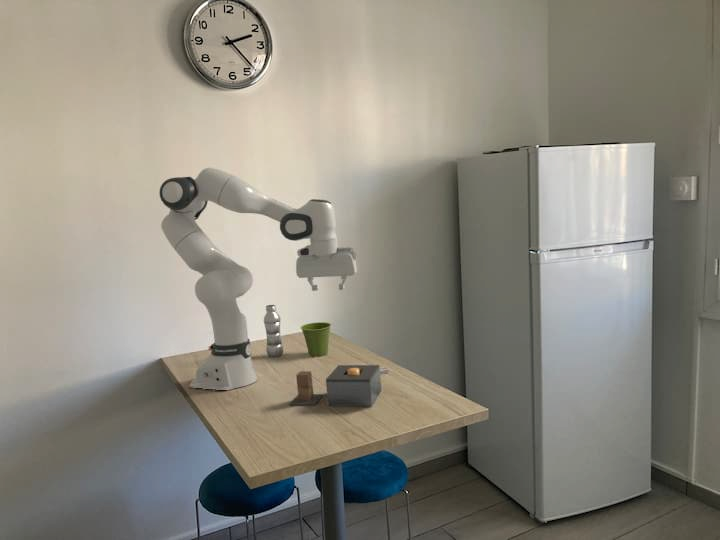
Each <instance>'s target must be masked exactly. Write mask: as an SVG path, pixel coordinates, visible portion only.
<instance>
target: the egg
mask: <svg viewBox="0 0 720 540" xmlns="http://www.w3.org/2000/svg"><path fill="white" fill-rule="evenodd" d="M347 375H360V372H359V368H350V369H348V370H347Z"/></svg>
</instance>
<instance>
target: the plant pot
mask: <svg viewBox="0 0 720 540" xmlns="http://www.w3.org/2000/svg"><path fill="white" fill-rule="evenodd" d="M331 327H332V324H331V323H330V322H321V321H318V322H310V323H306V324H303V325H301V326H300V329H301V330H302V334H303V336H304V340H305V343H306V348H307V352H308V354H309V356H311V357H313V356H316V357H318V356H319V357H323V356H322V355H324V356H326V355H327V354H328V352H329V341H330V331H331ZM325 354H326V355H325Z"/></svg>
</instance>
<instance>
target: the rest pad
mask: <svg viewBox="0 0 720 540" xmlns="http://www.w3.org/2000/svg"><path fill="white" fill-rule="evenodd" d="M313 395H314V397H313V398H312V399H311V401H299V398H298V394H297V395H296V396H295V397H294V398H293V399H292V400H291V401H290V402H289V403H288V405H289V406H300V407H301V406H302V407H303V406H304V407H305V406H310V407H312V406H316V405H317V404H318V403H319V402H320V401H321V399H323V397H324V394H323V393H322V394H321V393H316V394H315V393H313Z"/></svg>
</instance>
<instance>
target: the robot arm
mask: <svg viewBox="0 0 720 540" xmlns="http://www.w3.org/2000/svg"><path fill="white" fill-rule="evenodd" d="M158 195H159V198H160V200H161V202H162V203H163V205H164V206H166V207H167V208H168V209H169V212H168V214H167V215H165V216H164V218H163V219H162V221H161V225H160V228H161V230H162V232H163V234H164V235H165V239H166V240H167V242H169V244H170V245H171V247H172V249H173V250H174V251H175V252H176V253H177V254H178V256H179V257H180V258H181V259H182V260H183V262H184V263H185V264H186V265H187V267H188V268H189V269H190V270H193V271H195V272H197V273H199V274H201V275H202V276H201V277H200V278H199V279H198V280H197V281H196V283H195V285H194V293H195V296H196V299H197V300H198V301H199V302H200V303H201V304H203V306H205V308H206V311H207V312H208V315H209V317H210V321H211V324H212V332H213V338H214V342H213V343H212V344H210V346H208V347H207V349H208V350H207V351H210V353H211V354H209V356H207V357H206V358H205V359H204V360H203V361H202V362H201V363H200V364H199V365H198V367H197V368H196V372H195V379H193V380H192V381H191V382H190V384H189V388H190V387H196V388H206V389H216V390H227V391H231V390H234V389H237V388H243V387H246V386H249V385H252V384H253V383H255V382H256V381H257V380H258V375H257V373H256V371H255V369H254V365H253V362H252V348H251V342H250V339H249V335H248V325H247V319H246V318H247V317H246V316H245V314H244V313H242V312H241V310H240V308H239V305H238V302H237V299H238V298H240V297H242V296H244V295H245V294H247V292H248V291H249V290H250V289H251V288H252V286H253V283H254V278H253V274H252V273H251V271H250V269H248V268H247V267H245V266H242V265H240V264H238V263H237V262H235V261H234V260H233V259H231V258H230V257H229V256H228V255H226V254H225V252H222V250H220V249H219V248H218V247H217V246H216V245H215V244H214V243H213V241H212V240H211V239H210V238H209V237H208V235H206V233H205V232H204V231H203V229H201V227H200V226H199V225H198V223H197V222H196V220H197V219H199V217H200V216H201V214H202V213H203V212H204V211H205V209H206V208H207V205H208V202H212V203H214V204H216V205H218V206H219V207H222V208H223V209H226V210H228V211H231V212H235V213H239V214H255V215H256V214H257V215H262V216H265V217H268V218H270V219H271V220H274V221H277V222H278V223H279V230H280V234H282V236H283V237H284V238H285V239H287V240H289V241H295V242H296V241H297V242H298V241H301V240H304V239H305V240H307V239H309V240H310V243H309V245H305V246H304V247H302V248H299V249H298V250H297V251H296V253H297V256H298V257H297V258H296V263H295V272H296V276H297V277H298V278H299V279H307V282H308V283H309V285H310V287H311V291H313V292H315V291H318V285H317V284H315V282H314V278H327V277H340V279H341V280H342V281H341V283H339V284H338V290H340V291H342V290H345V287H346V286H345V283H346V281H347V279H348V276H355V275H356V274H357V273H358V266H357V262H356V258H357V254H356V251H355V249H354V248H352V247H350V246H347V247H339V245H338V243H339V242H338V235H337V233H336V228H337V223H336V220H337V219H336V214H335V209H334V205H333V203H331V202H330V200H325V199H316V198H313V199H310V200H308V201H307V202H306V203H305V204H304V205H302V206H301V207H299V208H293V207H291V206H289V205H287V204H285V203H282V202H280V201H278V200H276V199H274V198H272V197H270V196H268V195H267V194H264V193H263V192H261V191H259V190H258V189H257V188H255V187H253V186H252V185H251V184H249V183H248V182H246V181H244V180H242V179H241V178H239V177H238V176H235V175H233V174H231V173H229V172H226V171H223V170H221V169H218V168H217V169H216V168H215V167H214V168H213V167H206V168H204V169H202V170H201V171H200V172H199V173H198V175H197V176H196V178H195V179H194V178H193V177H192V176H183V177H181V176H180V177H178V176H177V177H171V178H168V179H166V180H165V181H164V182H162V184H161V185H160V188H159V194H158Z"/></svg>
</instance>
